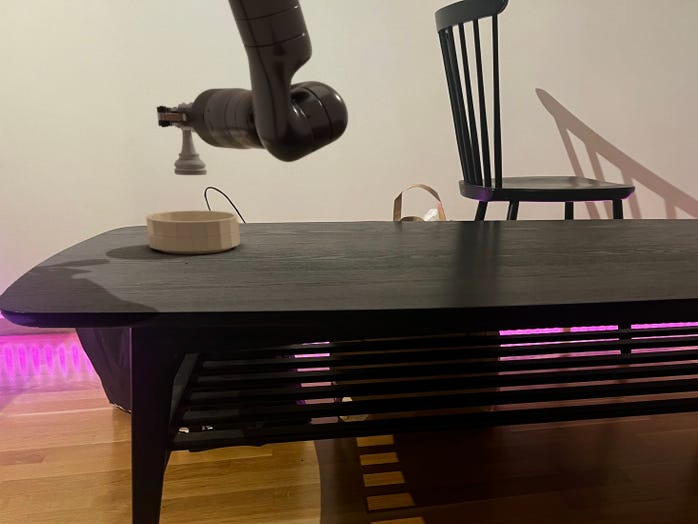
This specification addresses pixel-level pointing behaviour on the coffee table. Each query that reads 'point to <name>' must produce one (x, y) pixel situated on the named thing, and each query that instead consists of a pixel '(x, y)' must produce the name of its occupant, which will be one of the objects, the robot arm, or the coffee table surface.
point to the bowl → (193, 231)
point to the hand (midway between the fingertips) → (176, 116)
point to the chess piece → (189, 157)
